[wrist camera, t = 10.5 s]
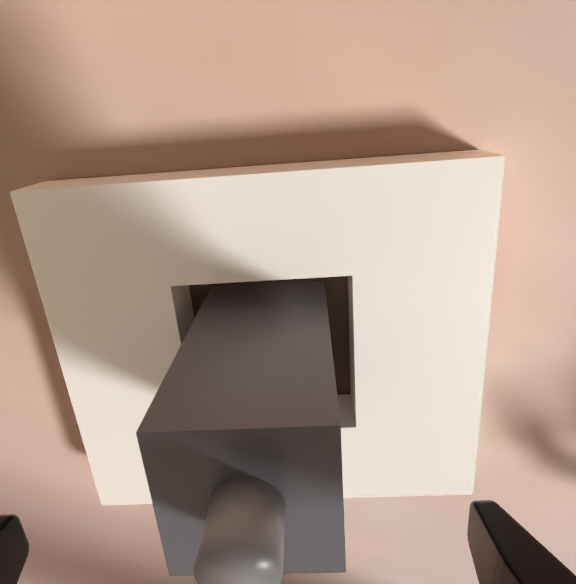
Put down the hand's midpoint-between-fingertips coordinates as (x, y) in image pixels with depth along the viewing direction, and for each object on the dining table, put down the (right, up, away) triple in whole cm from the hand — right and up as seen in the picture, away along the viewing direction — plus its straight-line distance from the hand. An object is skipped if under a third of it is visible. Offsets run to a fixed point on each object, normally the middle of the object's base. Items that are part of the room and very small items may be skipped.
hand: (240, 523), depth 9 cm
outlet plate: (0, +3, +8) cm, 9 cm away
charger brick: (0, +3, +8) cm, 9 cm away
